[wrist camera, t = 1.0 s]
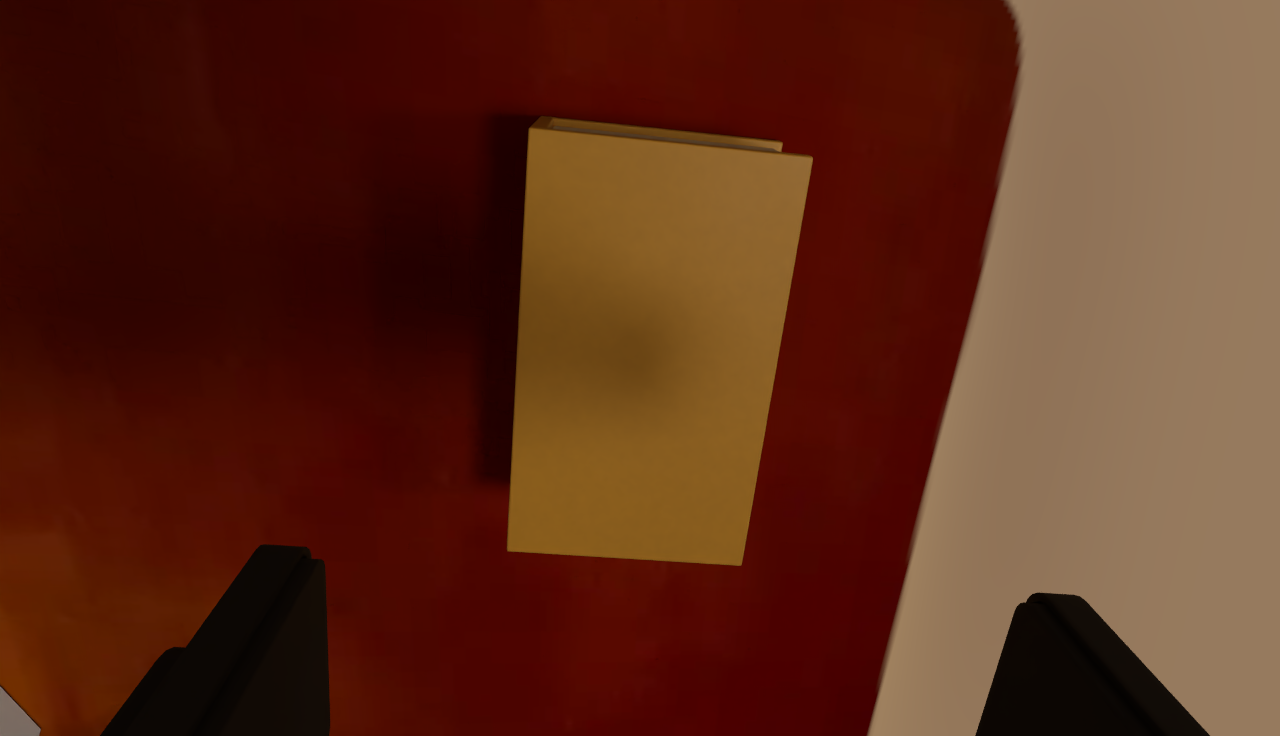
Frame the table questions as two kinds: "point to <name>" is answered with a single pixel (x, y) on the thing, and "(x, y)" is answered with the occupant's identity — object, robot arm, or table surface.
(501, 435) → the table surface
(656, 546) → the book
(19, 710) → the mug
